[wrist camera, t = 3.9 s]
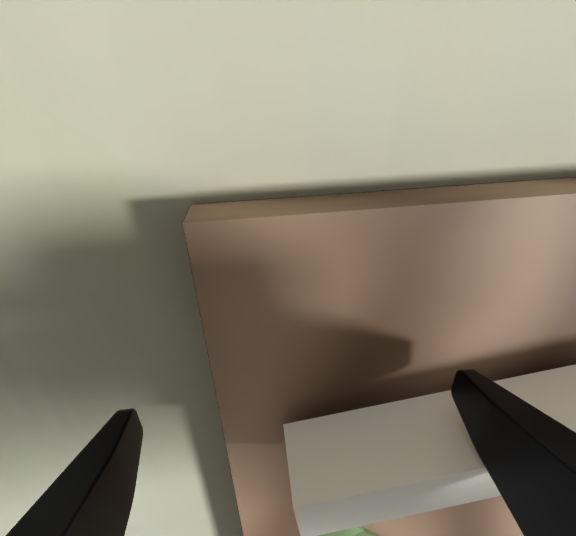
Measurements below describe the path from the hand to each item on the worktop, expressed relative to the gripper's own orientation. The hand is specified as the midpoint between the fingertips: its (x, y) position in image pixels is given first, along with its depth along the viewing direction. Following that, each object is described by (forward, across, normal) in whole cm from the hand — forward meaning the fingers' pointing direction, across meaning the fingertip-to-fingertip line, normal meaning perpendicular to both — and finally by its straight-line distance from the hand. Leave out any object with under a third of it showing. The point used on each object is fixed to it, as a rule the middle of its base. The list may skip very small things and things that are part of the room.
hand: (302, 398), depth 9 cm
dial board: (+2, -8, +5) cm, 10 cm away
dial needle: (+1, -8, +2) cm, 8 cm away
